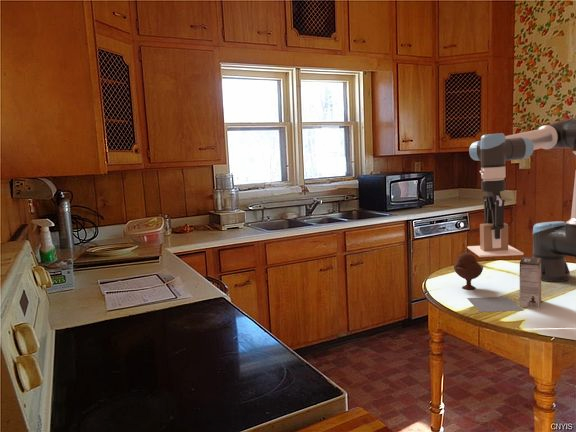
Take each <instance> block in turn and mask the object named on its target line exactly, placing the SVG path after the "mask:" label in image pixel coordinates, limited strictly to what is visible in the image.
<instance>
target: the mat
mask: <svg viewBox="0 0 576 432" xmlns="http://www.w3.org/2000/svg"><path fill="white" fill-rule="evenodd" d="M466 299H467V300H468V302H470V303H471V304H472V305H473V306H474V308H475V309H477V311H478V312H479V313H483V312H485V313H487V312H488V313H489V312H490V313H492V312H517V311H519V312H520V311H521V312H522V311H525V310H524V309H523V307H520V305H519V304H517V303H516V302H514V301H513V300H512V299H511V298H510V297H508V296H488V297H487V296H485V297H466Z"/></svg>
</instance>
